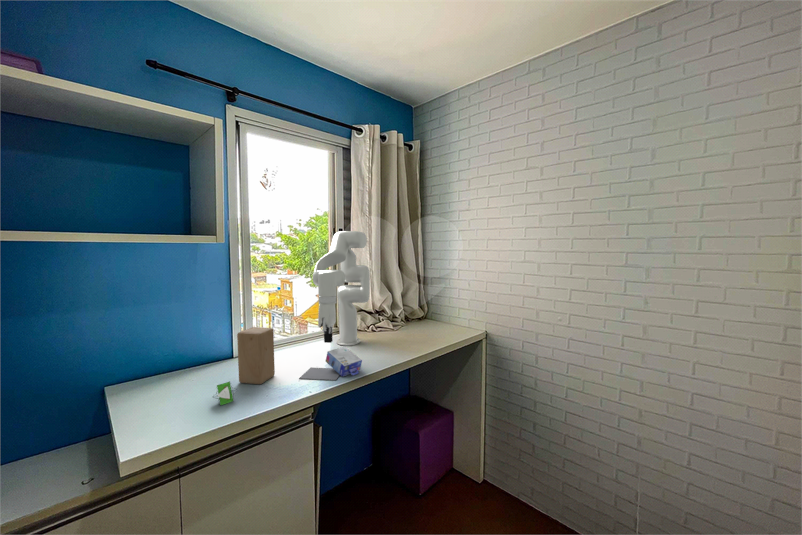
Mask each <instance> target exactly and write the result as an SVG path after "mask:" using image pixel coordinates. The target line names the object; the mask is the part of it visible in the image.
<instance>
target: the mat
mask: <svg viewBox="0 0 802 535" xmlns="http://www.w3.org/2000/svg"><path fill="white" fill-rule="evenodd" d="M340 376H341V375H340V374H339V373H338V372H337V371H335V370H334V369H333V368H332V367H310V368H309V369H308V370H306V371H305V372H304V373H303V374H302V375H301V376H300V377H299V378H298V379H299V380H309V381H310V380H311V381H312V380H314V381H335V382H336V381H337V380H338V379H339V377H340Z"/></svg>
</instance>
